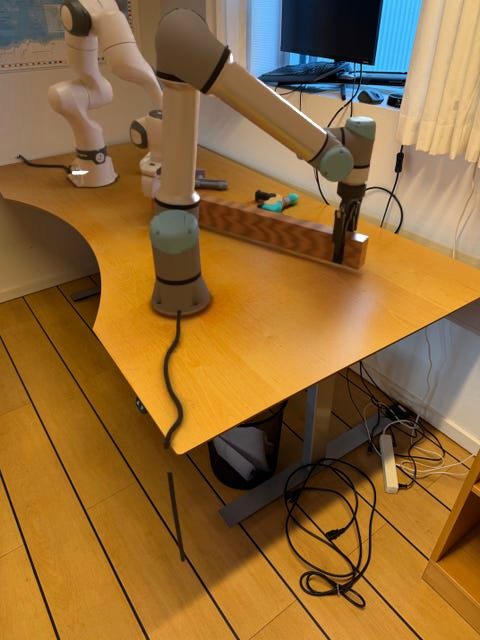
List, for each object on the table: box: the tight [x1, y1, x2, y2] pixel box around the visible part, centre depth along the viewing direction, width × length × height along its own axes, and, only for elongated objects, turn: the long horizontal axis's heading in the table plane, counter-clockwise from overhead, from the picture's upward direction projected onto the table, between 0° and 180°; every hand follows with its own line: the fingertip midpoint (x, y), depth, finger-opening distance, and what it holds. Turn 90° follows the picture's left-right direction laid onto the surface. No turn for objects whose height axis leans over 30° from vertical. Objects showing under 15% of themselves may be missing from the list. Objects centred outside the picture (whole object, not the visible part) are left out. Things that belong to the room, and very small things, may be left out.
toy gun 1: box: [195, 168, 229, 190], centre depth 195 cm, size 4×19×15 cm
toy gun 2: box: [254, 189, 299, 214], centre depth 172 cm, size 4×26×15 cm
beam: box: [150, 191, 370, 271], centre depth 152 cm, size 79×4×9 cm, turn 55°
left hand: (168, 202), depth 168 cm, fingers closed on beam, 4 cm apart
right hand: (340, 259), depth 138 cm, fingers closed on beam, 4 cm apart
